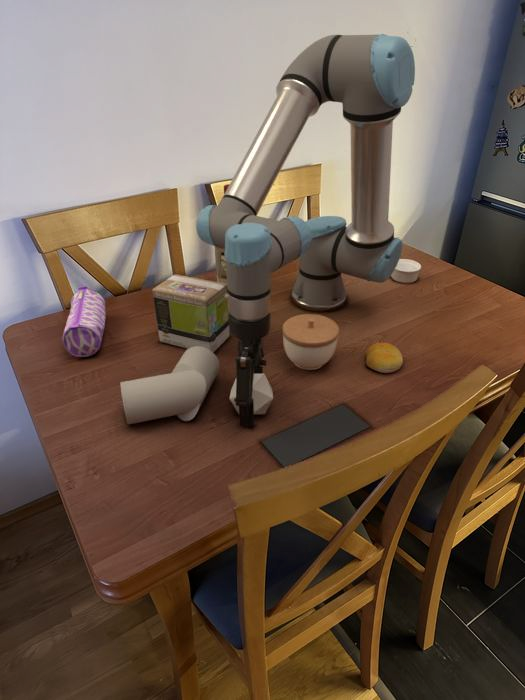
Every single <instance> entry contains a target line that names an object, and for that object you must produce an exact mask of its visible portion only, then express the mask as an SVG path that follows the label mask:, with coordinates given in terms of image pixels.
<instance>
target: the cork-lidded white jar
mask: <svg viewBox="0 0 525 700" xmlns="http://www.w3.org/2000/svg"><path fill="white" fill-rule="evenodd" d="M339 334H340V328H339V325H338V324H337V323H336V321H334V320H333V319H332V318H329V317H327V316H324V315H320V314H314V313H304V314H303V313H302V314H297V315H293V316H291V317H289V318H288V319H287V320H286V321H284V323H283V325H282V343H283V348H284V351H285V355H286V356H287V358H288V360H290V361H291V362H292V363H293V364H294V365H295V366H296V367H297V368H299V369H302V370H306V371H307V370H308V371H313V370H318V369H320V368H321V367H323V366H324V365H326V364H327V363H328V362H329V361H330V360H331V359H332V358H333V356H334V354H335V352H336V349H337V345H338V340H339Z"/></svg>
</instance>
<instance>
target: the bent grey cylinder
mask: <svg viewBox="0 0 525 700" xmlns="http://www.w3.org/2000/svg"><path fill="white" fill-rule="evenodd" d="M220 367H221V365H220V360H219V359H218V357H217V355H216V354H215V353H214V352H211V351H210V350H208V349H206V348H204V347H199V346H195V347H191V348H189V349H187V348H186V350H185V351H184V353H183V354H182V356H181V357H180V359H179V360H178V362H177V363H176V365H175V367H174V368H173V370H172V372H171V373H164V374H159V375H154V376H147V377H142V378H137V379H131V380H126V381H121V382H120V393H121V398H122V399H121V400H122V404H123V405H122V406H123V410H124V415H125V419H126V420H125V421H126V423H127V425H133V424H138V423H143V422H149V421H153V420H158V419H163V418H167V417H168V418H169V417H172V416H174V417H175V416H177V418H178V419H180V420H181V421H183V422H188V421H191V420H193V419H194V418H195V417H196V415H197V414H198V412H199V410H200V408H201V406H202V404H203V402H204V400H205V398H206V396H207V394H208V393H209V391H210V388H211V386H212V384H213V383H214V381H215V379H216V377H217V375H218V373H219V371H220Z"/></svg>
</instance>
